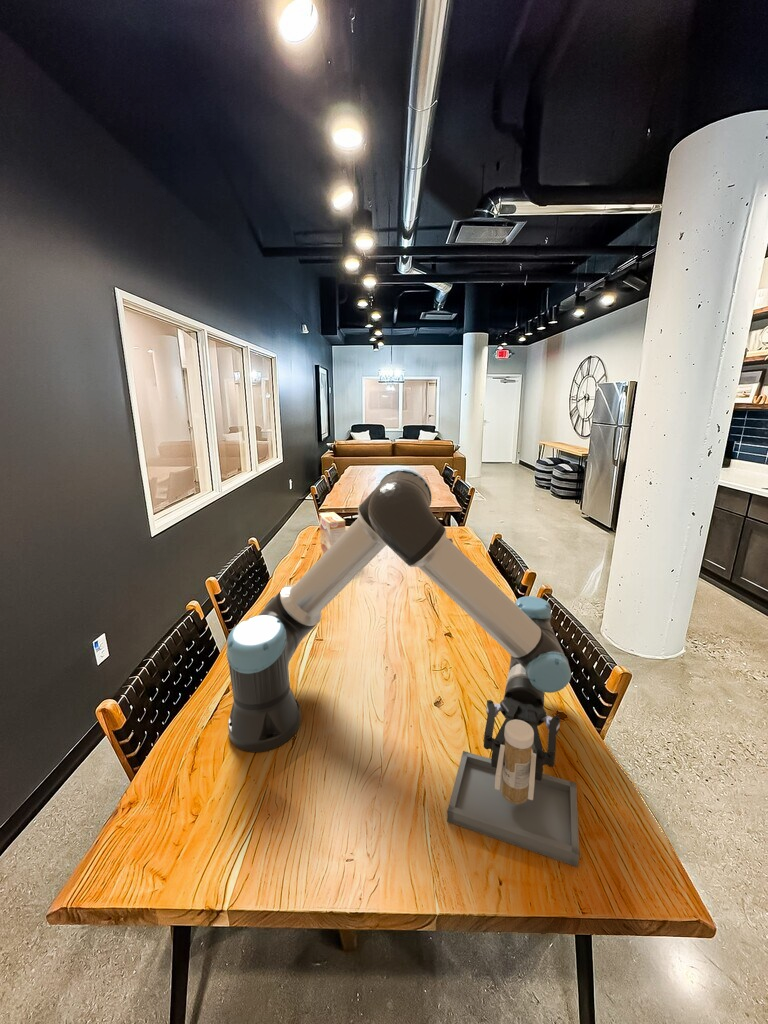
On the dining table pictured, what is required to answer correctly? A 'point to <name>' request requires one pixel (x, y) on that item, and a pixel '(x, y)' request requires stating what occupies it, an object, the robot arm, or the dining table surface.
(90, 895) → the dining table surface
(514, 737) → the sprinkles bottle
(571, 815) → the tray
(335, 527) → the coffeecake box
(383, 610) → the dining table surface
